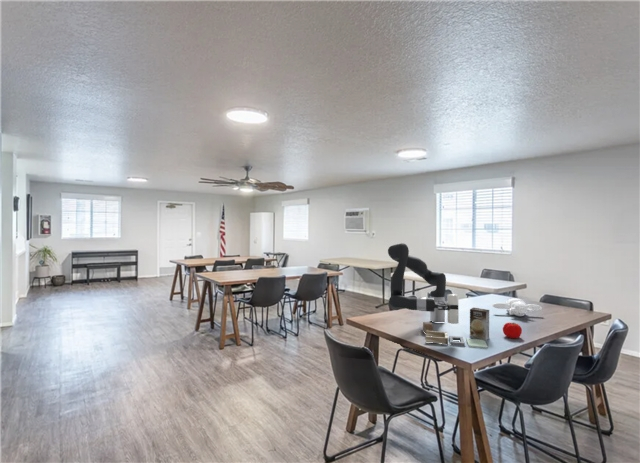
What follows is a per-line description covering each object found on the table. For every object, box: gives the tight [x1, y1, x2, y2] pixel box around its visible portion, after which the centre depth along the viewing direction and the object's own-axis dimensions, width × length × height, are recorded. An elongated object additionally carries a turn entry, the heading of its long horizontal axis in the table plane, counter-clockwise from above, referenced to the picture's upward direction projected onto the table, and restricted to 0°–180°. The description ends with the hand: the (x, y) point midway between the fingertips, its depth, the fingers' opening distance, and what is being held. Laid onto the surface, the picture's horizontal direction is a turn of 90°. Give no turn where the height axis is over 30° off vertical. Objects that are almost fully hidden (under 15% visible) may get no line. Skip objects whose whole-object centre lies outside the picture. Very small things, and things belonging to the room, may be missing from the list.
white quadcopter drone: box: [492, 297, 543, 317], centre depth 253 cm, size 24×30×11 cm
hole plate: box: [448, 335, 466, 347], centre depth 189 cm, size 12×7×2 cm, turn 163°
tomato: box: [502, 322, 523, 339], centre depth 198 cm, size 9×10×8 cm
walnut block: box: [422, 321, 434, 333], centre depth 207 cm, size 4×4×6 cm
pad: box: [466, 338, 489, 349], centre depth 186 cm, size 12×9×1 cm
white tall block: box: [446, 293, 460, 325], centre depth 190 cm, size 6×6×15 cm
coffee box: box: [469, 307, 490, 341], centre depth 197 cm, size 9×6×16 cm
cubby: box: [425, 330, 449, 345], centre depth 192 cm, size 12×11×4 cm
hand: (457, 306), depth 189 cm, fingers closed on white tall block, 5 cm apart
